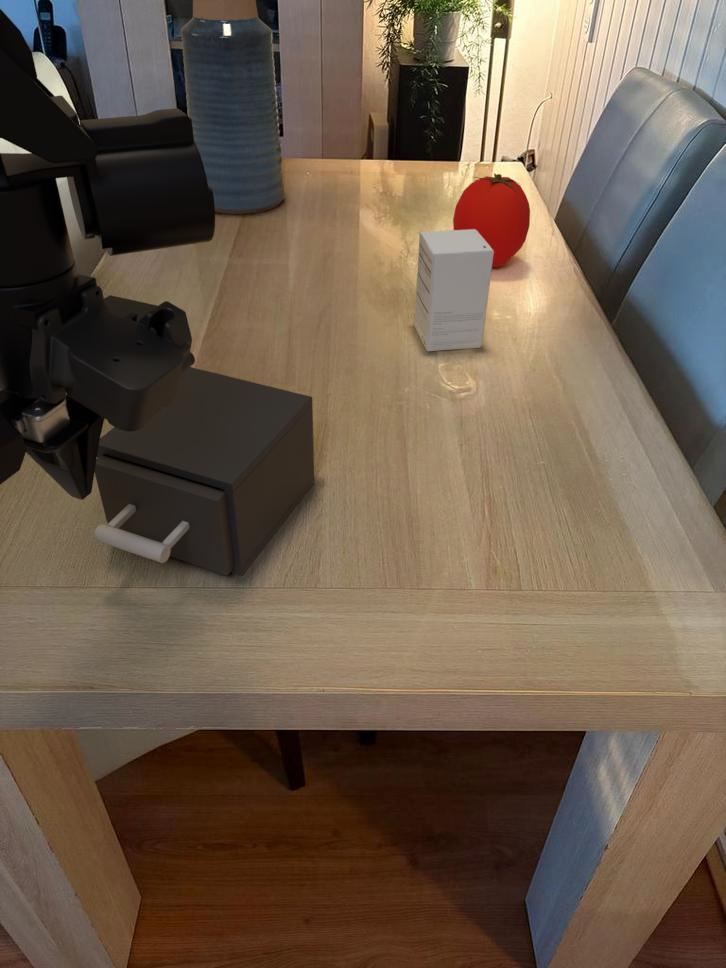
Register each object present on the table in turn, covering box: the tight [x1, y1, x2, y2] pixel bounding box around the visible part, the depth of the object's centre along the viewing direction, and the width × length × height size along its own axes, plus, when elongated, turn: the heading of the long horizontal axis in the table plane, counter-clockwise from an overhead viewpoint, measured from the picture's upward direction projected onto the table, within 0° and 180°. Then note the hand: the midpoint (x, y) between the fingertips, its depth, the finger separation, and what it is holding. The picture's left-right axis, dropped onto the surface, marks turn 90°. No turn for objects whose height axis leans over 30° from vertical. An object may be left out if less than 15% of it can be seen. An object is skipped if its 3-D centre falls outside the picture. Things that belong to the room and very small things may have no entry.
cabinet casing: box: [97, 366, 315, 577], centre depth 65 cm, size 14×13×10 cm
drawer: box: [93, 455, 234, 576], centre depth 62 cm, size 17×11×8 cm
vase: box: [180, 0, 286, 215], centre depth 126 cm, size 16×16×32 cm
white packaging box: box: [413, 229, 494, 352], centre depth 91 cm, size 7×7×13 cm
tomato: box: [452, 172, 531, 268], centre depth 111 cm, size 12×12×13 cm
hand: (81, 495), depth 49 cm, fingers closed
